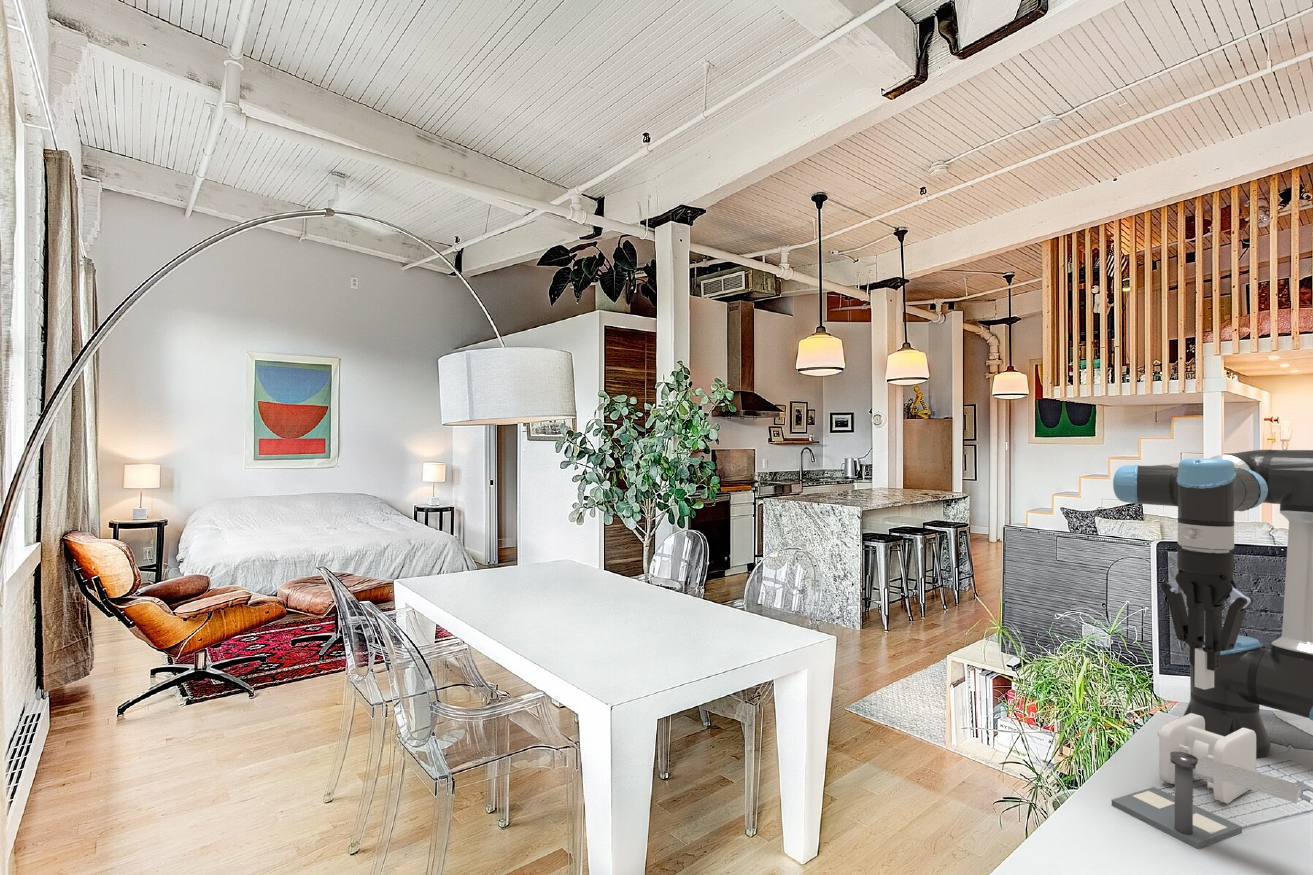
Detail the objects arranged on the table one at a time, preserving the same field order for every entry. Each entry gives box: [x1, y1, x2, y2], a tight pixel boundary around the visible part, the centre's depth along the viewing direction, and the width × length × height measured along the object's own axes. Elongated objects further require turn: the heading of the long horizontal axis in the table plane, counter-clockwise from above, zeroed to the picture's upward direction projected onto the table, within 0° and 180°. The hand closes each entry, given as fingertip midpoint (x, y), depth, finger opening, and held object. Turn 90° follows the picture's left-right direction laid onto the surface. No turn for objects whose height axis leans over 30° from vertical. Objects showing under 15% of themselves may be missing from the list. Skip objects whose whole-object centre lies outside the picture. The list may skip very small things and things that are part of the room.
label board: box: [1111, 765, 1243, 850], centre depth 118 cm, size 12×14×12 cm
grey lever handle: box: [1170, 751, 1302, 804], centre depth 108 cm, size 16×5×1 cm, turn 40°
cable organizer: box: [1157, 713, 1257, 804], centre depth 129 cm, size 15×11×12 cm
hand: (1204, 686), depth 115 cm, fingers closed
